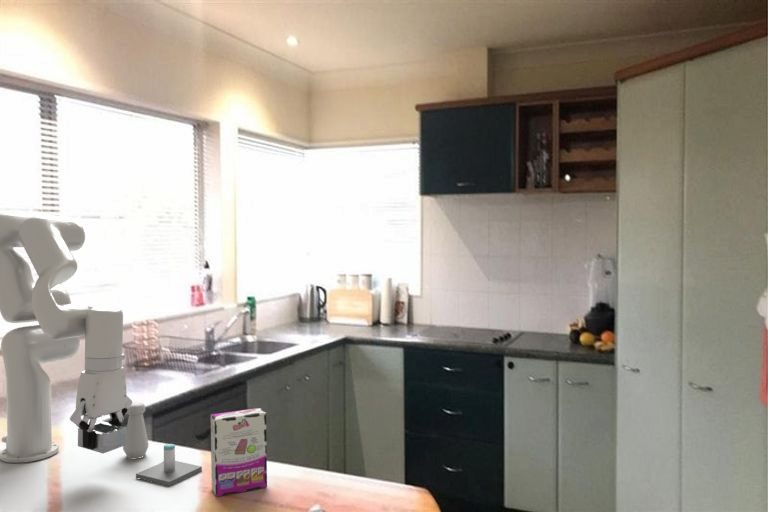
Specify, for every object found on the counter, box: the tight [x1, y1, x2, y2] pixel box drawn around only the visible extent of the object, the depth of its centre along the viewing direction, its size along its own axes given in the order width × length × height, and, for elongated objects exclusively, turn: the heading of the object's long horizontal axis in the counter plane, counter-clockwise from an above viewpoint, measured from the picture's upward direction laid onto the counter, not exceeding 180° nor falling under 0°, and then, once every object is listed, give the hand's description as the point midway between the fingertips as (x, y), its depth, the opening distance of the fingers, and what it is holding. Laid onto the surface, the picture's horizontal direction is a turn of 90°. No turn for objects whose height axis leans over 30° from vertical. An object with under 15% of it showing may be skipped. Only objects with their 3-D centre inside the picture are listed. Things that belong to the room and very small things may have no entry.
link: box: [77, 420, 127, 454], centre depth 138 cm, size 8×6×4 cm
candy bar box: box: [210, 407, 268, 497], centre depth 134 cm, size 11×5×16 cm, turn 118°
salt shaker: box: [122, 401, 149, 459], centre depth 153 cm, size 6×6×13 cm
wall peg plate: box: [135, 443, 203, 487], centre depth 141 cm, size 10×10×7 cm
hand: (101, 442), depth 138 cm, fingers closed on link, 6 cm apart
